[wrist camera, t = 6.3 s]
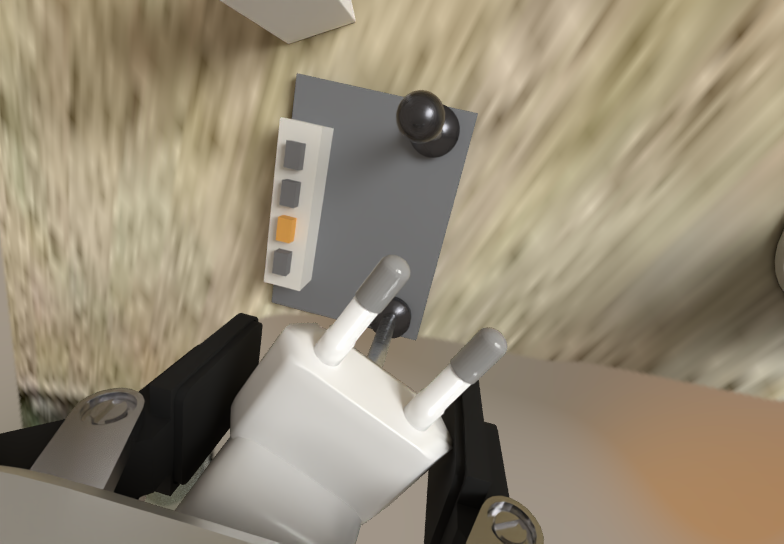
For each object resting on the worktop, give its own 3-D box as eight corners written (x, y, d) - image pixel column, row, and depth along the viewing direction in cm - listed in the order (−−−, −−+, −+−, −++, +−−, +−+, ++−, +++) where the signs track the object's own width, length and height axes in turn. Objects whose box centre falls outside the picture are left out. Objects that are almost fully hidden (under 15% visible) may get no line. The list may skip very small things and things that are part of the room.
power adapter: (384, 201, 11) (314, 261, 5) (516, 302, 11) (582, 458, 5) (218, 432, 14) (74, 608, 9) (320, 501, 15) (242, 712, 9)
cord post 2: (465, 110, 29) (485, 69, 13) (452, 162, 31) (455, 179, 15) (416, 99, 30) (378, 45, 14) (405, 151, 31) (358, 157, 15)
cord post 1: (415, 301, 35) (388, 431, 19) (406, 337, 37) (373, 486, 21) (374, 291, 35) (314, 410, 19) (367, 327, 37) (304, 466, 21)
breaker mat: (476, 114, 30) (482, 108, 25) (416, 335, 37) (412, 362, 33) (301, 75, 31) (275, 63, 26) (276, 298, 38) (251, 319, 34)
